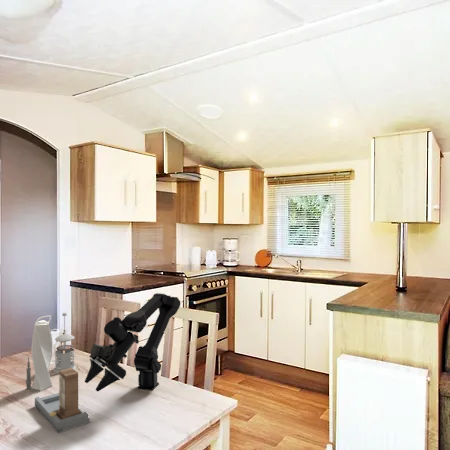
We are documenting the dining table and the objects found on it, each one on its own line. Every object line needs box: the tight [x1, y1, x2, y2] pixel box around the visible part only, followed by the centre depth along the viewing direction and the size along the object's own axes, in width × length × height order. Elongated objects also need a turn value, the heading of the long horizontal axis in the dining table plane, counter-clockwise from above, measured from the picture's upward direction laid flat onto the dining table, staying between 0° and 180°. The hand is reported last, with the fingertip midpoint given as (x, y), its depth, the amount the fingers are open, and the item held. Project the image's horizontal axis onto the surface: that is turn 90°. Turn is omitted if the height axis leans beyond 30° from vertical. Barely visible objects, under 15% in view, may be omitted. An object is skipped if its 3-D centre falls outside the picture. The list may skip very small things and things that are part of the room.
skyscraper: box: [25, 314, 53, 394], centre depth 155 cm, size 8×8×28 cm
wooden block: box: [56, 368, 82, 420], centre depth 129 cm, size 6×6×14 cm
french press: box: [52, 312, 78, 374], centre depth 176 cm, size 10×12×25 cm
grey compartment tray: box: [34, 392, 91, 434], centre depth 133 cm, size 24×10×4 cm, turn 41°
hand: (91, 386), depth 134 cm, fingers open, 9 cm apart
